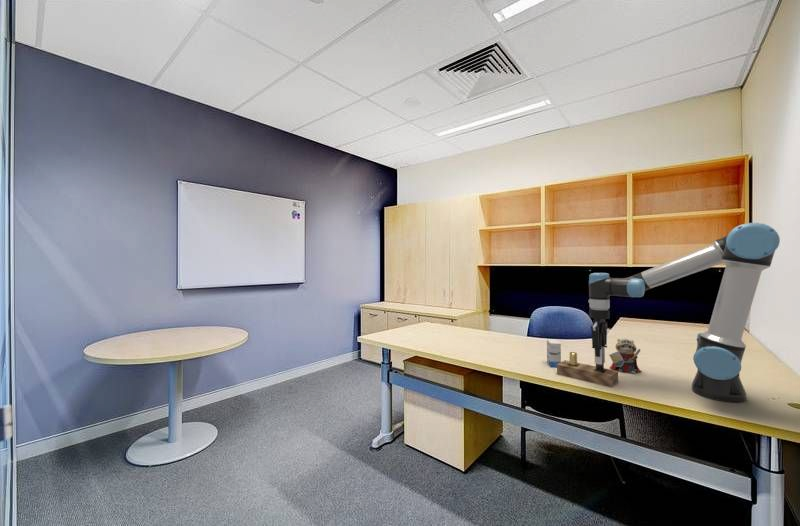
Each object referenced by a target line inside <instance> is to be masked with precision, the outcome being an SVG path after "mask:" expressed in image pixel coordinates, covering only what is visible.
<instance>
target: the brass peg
mask: <svg viewBox="0 0 800 526" xmlns="http://www.w3.org/2000/svg"><path fill="white" fill-rule="evenodd" d="M569 361H570V366H574V367H577V363H578V352H576V351H575V352H574V351H570V352H569Z"/></svg>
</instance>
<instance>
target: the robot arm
mask: <svg viewBox="0 0 800 526" xmlns="http://www.w3.org/2000/svg"><path fill="white" fill-rule="evenodd" d="M780 240H781V239H780V235H779V234H778V232H777V231H776V229H775V228H773V227H772V226H770V225H768V224H764V223H761V222H747V223H743V224H740V225H738V226H735V227H733V228H732V230H730V231H729V233H728V234H726V235H725V236H723V237H720V238H718V239H716V240H714V241H713V243H712V244H710V245H707V246H706V247H702V248H700V249H698V250H695V251H692V252H690V253H687V254H685V255H682V256H679V257H677V258H674V259H672V260H670V261H667V262H665V263H662V264H659V265H657V266H654V267H652V268H648V269H647V270H644V271H642V272H639V273H637V274H634V275H631V276H628V277H622V278H621V277H615V278H614V277H610V273H607V272H593V273H590V274H589V277H588V279H589V280H588V295H589V297H588V298H589V299H588V301H587V303H588V304H589V310H588V312H589V313H588V314H589V315H588V316H589V318H591V319H593V322H592V325H591V326H590V330H591V344H592V345H591V349H594V364H595V365H596V364H600V365H602V349H601V346H603V347H604V364H606V348H608V345H607V344H608V342H607V341H608V339H607V338H608V324H609V323H608V322H606V320H609V319H610V315H611V313H610V310H609V309H610V307H611V305H610V303H611V301H610V296H611V297H612V296H613V297H615V296H617V297H626V298H642V297H644V295H645V292H646V291H648V290H650V289H653V288H655V287H658V286H662V285H664V284H667V283H670V282H673V281H676V280H679V279H681V278H684V277H688V276H689V275H692V274H696V273H698V272H702V271H704V270H707V269H710V268H713V267H715V266H718V265H721V264H724V265H725V268H724V270H723V271H724V272H723V275H722V278H721V282H720V285H719V290H718V293H717V297H716V300H715V303H714V307H713V310H712V314H711V318H710V320H709V321H710V322H709V323H708V324H709V325H708V328H707V330H706V331H704V332H699V333H698V334H697V336H696V342H697V343H696V345H697V346H696V350H695V352H694V354H693V358H692V359H693V363H694V365H695V367H696V368H697V372H696V373H695V376H694V378H693V381H692V383H691V391H692V392H694V393H695V394H697V395H699V396H702V397H705V398H708V399H712V400H716V401H721V402H725V403H726V402H727V403H744V402H746V401H747V398H748V397H747V392H746V390H745V387H744V385H743V383H742V381H741V376H740V372H741V370H742V361H743V358H744V357H743V356H744V354H745V350H746V348H747V345H746V344H745V342H743V340H742V338H743V335H744V332H745V328H746V324H747V322H748V318H749V314H750V312H751V308H752V306H753V302H754V297H755V295H756V292H757V288H758V285H759V282H760V279H761V275H762V272H763V271H764V270H766V269H769V268H770V267H771V265H772V262H773V258H774V255H775V252H776V250H777V249H778V248H779V246H780Z"/></svg>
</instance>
